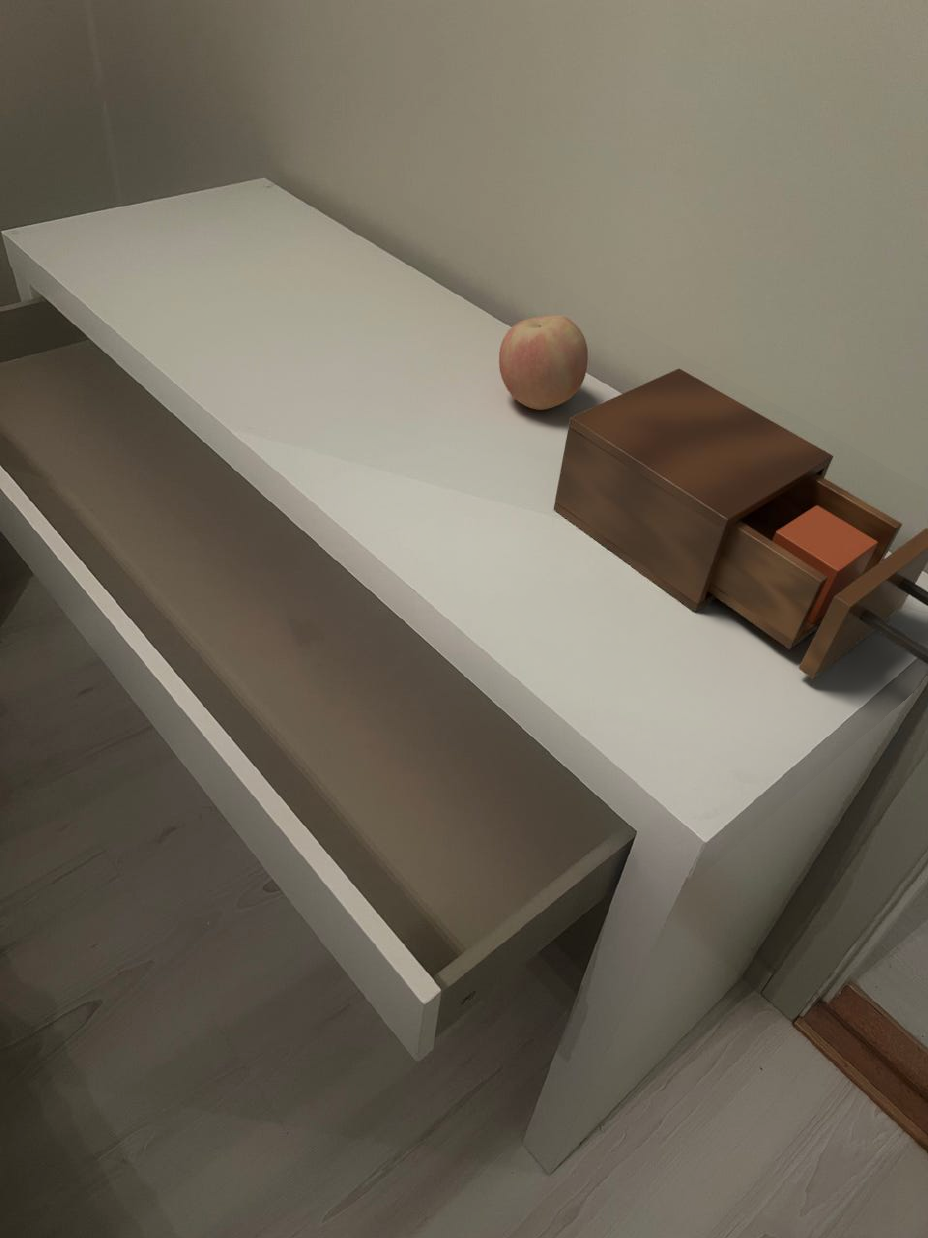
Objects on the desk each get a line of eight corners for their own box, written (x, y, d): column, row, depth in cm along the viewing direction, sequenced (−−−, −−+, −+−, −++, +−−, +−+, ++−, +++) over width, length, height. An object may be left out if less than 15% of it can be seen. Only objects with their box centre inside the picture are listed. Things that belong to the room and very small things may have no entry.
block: (851, 595, 67) (879, 541, 63) (812, 624, 64) (838, 571, 61) (793, 557, 69) (816, 504, 66) (753, 584, 67) (775, 531, 63)
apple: (559, 375, 89) (572, 295, 83) (594, 418, 84) (611, 337, 78) (482, 385, 87) (490, 304, 81) (514, 430, 82) (525, 347, 76)
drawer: (986, 662, 64) (1037, 591, 60) (902, 743, 59) (950, 672, 54) (751, 512, 74) (778, 441, 70) (659, 569, 69) (681, 496, 64)
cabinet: (795, 545, 73) (834, 455, 67) (694, 613, 67) (727, 520, 61) (655, 456, 81) (679, 367, 75) (552, 509, 74) (569, 416, 68)
